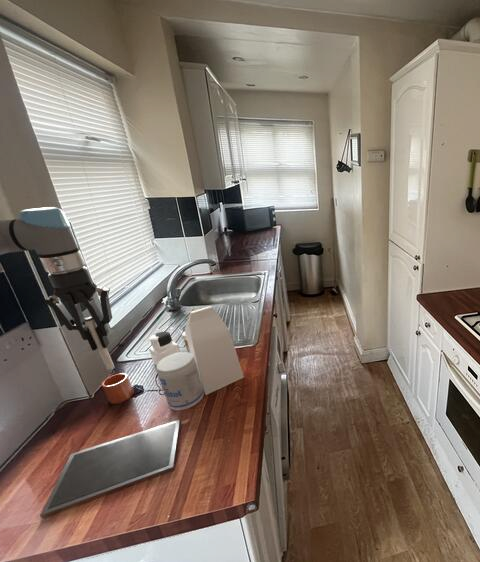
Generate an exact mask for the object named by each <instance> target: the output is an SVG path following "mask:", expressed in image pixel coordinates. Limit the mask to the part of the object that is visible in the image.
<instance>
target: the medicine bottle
mask: <svg viewBox="0 0 480 562" xmlns="http://www.w3.org/2000/svg"><path fill="white" fill-rule="evenodd" d="M149 341H150V344H151V346H150V347H148V351H149V354H150V356H151V359H152V361H153V364H154V365H155V366H156V367H157V364H158V363H159V362H160V361H161V360H162V359H164V358H165V357H167V356H169V355H172V354H175V353H179V352H181V349H180V346H179V344H178V343H176V342H175V341H173V338H172V335H171V333H170V332H169V331H159V332H156V333H155V334H153V335H151V336H150V338H149Z"/></svg>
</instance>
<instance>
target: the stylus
mask: <svg viewBox="0 0 480 562" xmlns="http://www.w3.org/2000/svg"><path fill="white" fill-rule="evenodd" d="M84 320H85V322H86V324H87V325H86V327H88V329H89V331H90V333H91V336H92V338H93V340H94V342H95V344H96V347H97V349H96V350H97V351H98V353H99V355H100V358H101V360H102V362H103V365H104V366H105V369H106V371H111V370H114V369H115V368H116V366H115V365H114V361H113V360H112V356H111V355H110V353H109V351H108V347H107V348H103V347H102V344H101V342H100V340H99V337H98V335H97V333H96V331H95V327H96V326H97V325H96V323H95V321H94V319H93V318H92V316H88V317H87V316H86V317H84Z"/></svg>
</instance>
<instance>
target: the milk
mask: <svg viewBox="0 0 480 562" xmlns="http://www.w3.org/2000/svg"><path fill="white" fill-rule="evenodd" d="M184 332H185V333H186V337H187V341H188V345H189V349H190V353H191V354H192V355H193V357H194V359H195V362H196V366H197V369H198V373H199V377H200V380H201V384H202V387H203V391H204V395H205V396H207V395H209V394H211V393H214V392H216V391H219V390H220V389H223V388H224V387H227V386H229V385H231V384H233V383H235V382H237V381H239V380H242V379H244V378H245V376H244V373H243V370H242V365H241V363H240V359H239V357H238V353H237V350H236V347H235V344H234V341H233V338H232V334H231V332H230V330H229V328H228V326H227V324H226V323H225V322H224V320H223V318H222V317H221V316H220V314H219V313H218V312H217V311H216V310H215V308H214V307H213V306H211V305H209V306H205V307H201V308H199V309H196V310H192V311H190V312H189V316H188V320H187V323H186V325H185V328H184Z"/></svg>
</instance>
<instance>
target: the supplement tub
mask: <svg viewBox="0 0 480 562" xmlns="http://www.w3.org/2000/svg"><path fill="white" fill-rule="evenodd" d="M156 372H157V377H158V379H159V382H160V385H161V388H162V390H163V394H164V396H165V399H166V402H167V405H168V407H169V408H170V409H171V410H172V411H184V410H187V409H190V408H192V407H194V406H196V405H197V404H199V403H200V402H201V401H202V400H203V398H204V395H205V392H204V391H203V387H202V384H201V380H200V377H199V373H198V369H197V366H196V362H195V359H194V357H193V355H192V354H191V353H189V352H187V351H180V352H179V353H175V354H172V355H169V356H167V357H165V358H164V359H162V360H161V361H160V362H159V363H158V364H157V366H156Z"/></svg>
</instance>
